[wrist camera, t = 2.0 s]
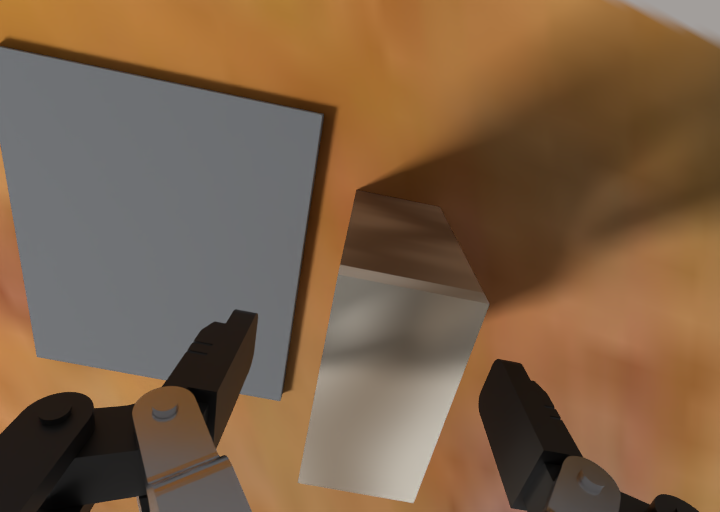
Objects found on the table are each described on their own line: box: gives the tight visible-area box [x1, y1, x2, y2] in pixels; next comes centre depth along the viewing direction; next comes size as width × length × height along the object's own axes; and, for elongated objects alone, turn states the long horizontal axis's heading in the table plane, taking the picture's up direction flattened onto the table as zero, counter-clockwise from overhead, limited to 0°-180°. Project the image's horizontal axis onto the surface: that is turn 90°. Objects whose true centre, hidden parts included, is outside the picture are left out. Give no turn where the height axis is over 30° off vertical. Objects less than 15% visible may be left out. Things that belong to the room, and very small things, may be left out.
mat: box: [0, 46, 324, 401], centre depth 20 cm, size 14×16×1 cm
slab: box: [298, 190, 489, 503], centre depth 16 cm, size 4×8×9 cm, turn 169°
